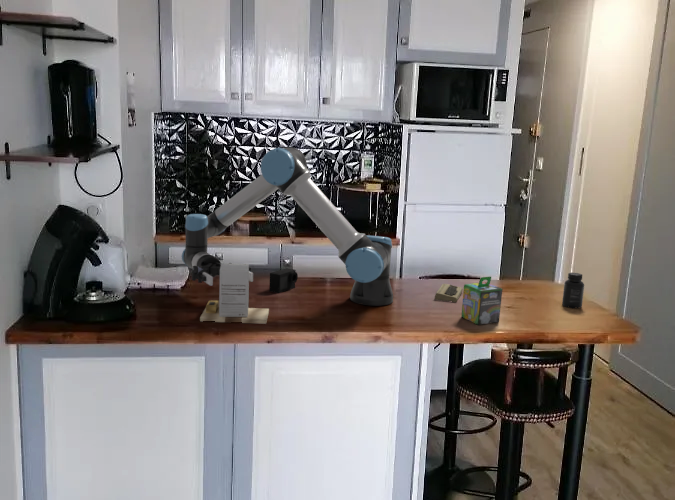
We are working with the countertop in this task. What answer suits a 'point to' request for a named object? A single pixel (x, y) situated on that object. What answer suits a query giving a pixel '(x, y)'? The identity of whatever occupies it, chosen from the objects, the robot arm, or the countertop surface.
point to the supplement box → (234, 290)
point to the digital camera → (283, 280)
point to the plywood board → (253, 317)
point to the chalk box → (481, 302)
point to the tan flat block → (448, 293)
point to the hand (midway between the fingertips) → (232, 279)
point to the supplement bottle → (573, 291)
